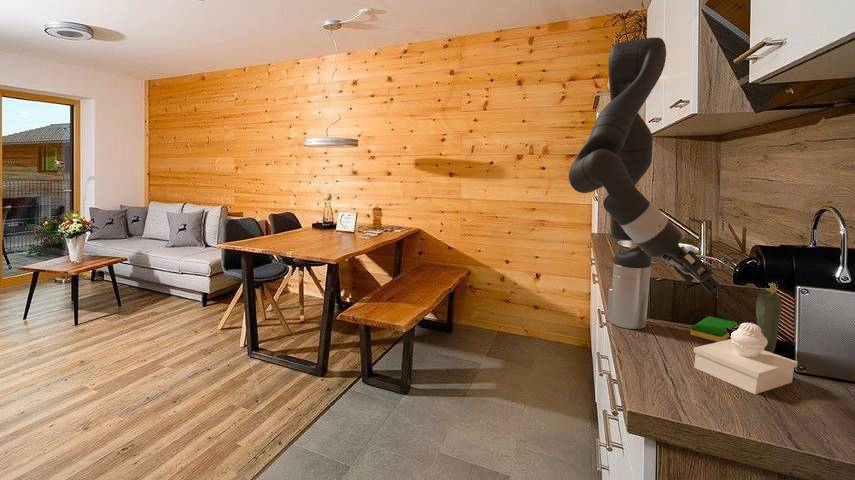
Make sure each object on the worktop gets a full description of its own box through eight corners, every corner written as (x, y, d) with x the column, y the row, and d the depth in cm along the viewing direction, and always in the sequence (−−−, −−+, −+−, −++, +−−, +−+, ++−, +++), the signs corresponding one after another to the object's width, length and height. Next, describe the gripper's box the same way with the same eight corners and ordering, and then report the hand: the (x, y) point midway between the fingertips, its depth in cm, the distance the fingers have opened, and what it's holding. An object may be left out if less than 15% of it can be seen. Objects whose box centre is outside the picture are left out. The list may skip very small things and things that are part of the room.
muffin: (743, 360, 81) (748, 328, 80) (720, 348, 87) (725, 317, 86) (773, 361, 81) (778, 328, 80) (748, 348, 87) (753, 317, 86)
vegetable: (778, 365, 89) (790, 278, 86) (756, 364, 90) (767, 277, 87) (766, 357, 93) (777, 273, 90) (745, 355, 94) (755, 272, 91)
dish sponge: (689, 336, 107) (690, 327, 107) (707, 323, 116) (708, 315, 115) (721, 344, 101) (722, 335, 101) (737, 331, 110) (738, 322, 110)
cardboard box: (691, 369, 89) (693, 347, 88) (728, 359, 93) (731, 338, 93) (755, 397, 77) (758, 373, 76) (794, 384, 82) (797, 361, 81)
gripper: (682, 219, 74) (742, 281, 75) (648, 212, 88) (698, 264, 89) (650, 247, 75) (708, 308, 76) (621, 236, 89) (671, 287, 90)
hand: (703, 284), depth 82 cm, fingers open, 8 cm apart
